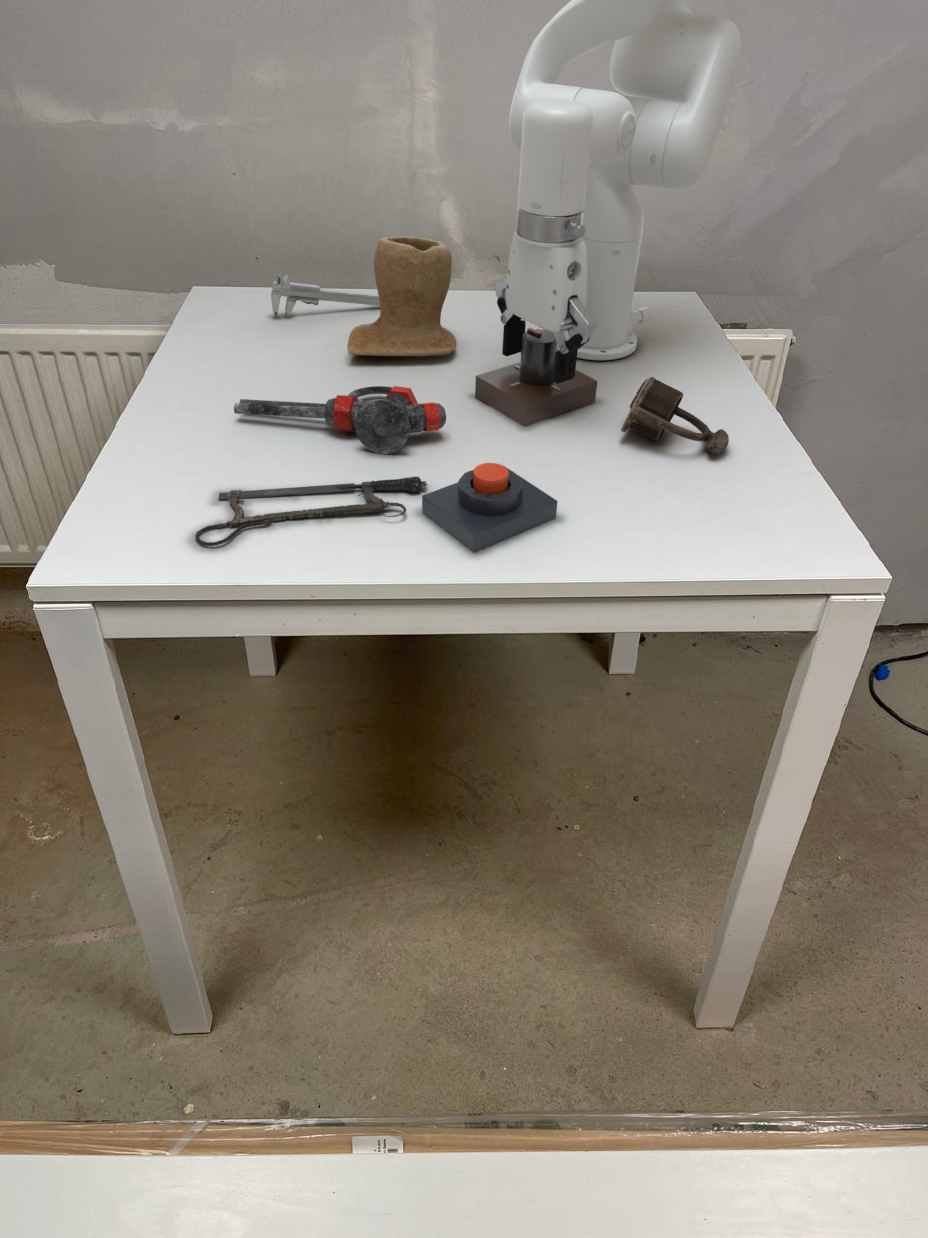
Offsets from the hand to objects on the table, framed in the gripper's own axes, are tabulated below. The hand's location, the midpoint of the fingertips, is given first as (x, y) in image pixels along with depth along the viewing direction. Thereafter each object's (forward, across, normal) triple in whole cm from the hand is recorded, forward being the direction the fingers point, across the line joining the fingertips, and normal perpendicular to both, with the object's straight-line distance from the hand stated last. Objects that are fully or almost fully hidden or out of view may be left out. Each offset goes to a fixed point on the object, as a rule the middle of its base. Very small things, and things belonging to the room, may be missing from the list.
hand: (537, 366), depth 113 cm
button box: (+4, -18, +22) cm, 29 cm away
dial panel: (+5, 0, 0) cm, 5 cm away
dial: (+2, 0, 0) cm, 2 cm away
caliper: (+5, +40, +5) cm, 41 cm away
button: (+1, -18, +22) cm, 28 cm away
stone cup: (+5, +23, +5) cm, 24 cm away
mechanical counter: (+5, -18, -6) cm, 20 cm away
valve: (+5, +9, +23) cm, 25 cm away
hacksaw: (+5, -7, +37) cm, 38 cm away
